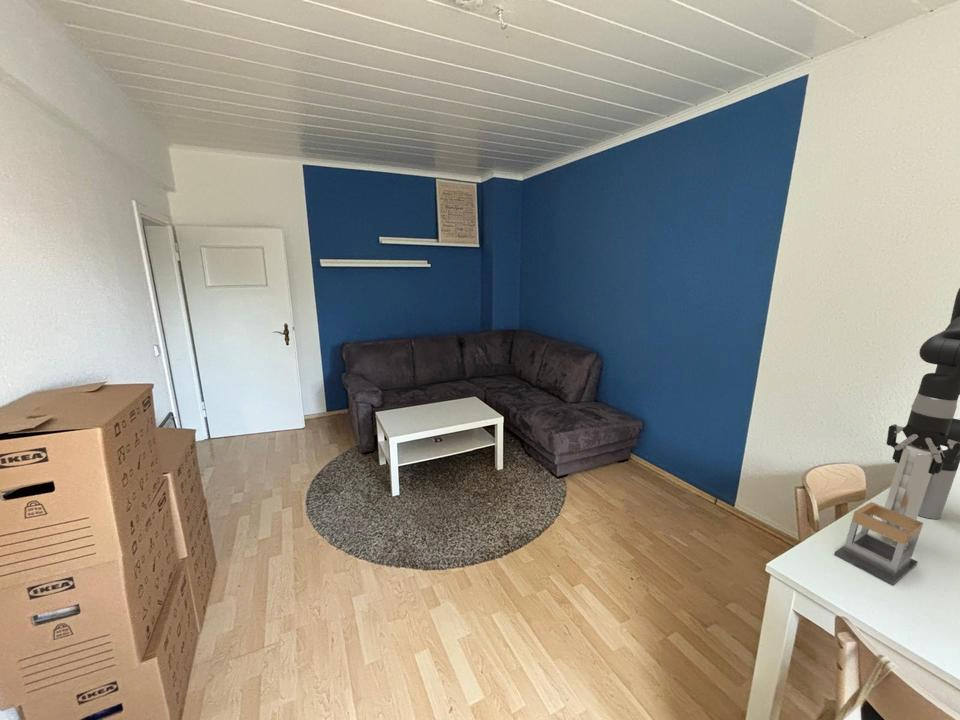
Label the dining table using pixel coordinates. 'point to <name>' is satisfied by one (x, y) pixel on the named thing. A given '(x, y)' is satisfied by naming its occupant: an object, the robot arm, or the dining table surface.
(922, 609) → the dining table surface
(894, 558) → the collar stand
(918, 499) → the grey cylinder
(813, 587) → the dining table surface
